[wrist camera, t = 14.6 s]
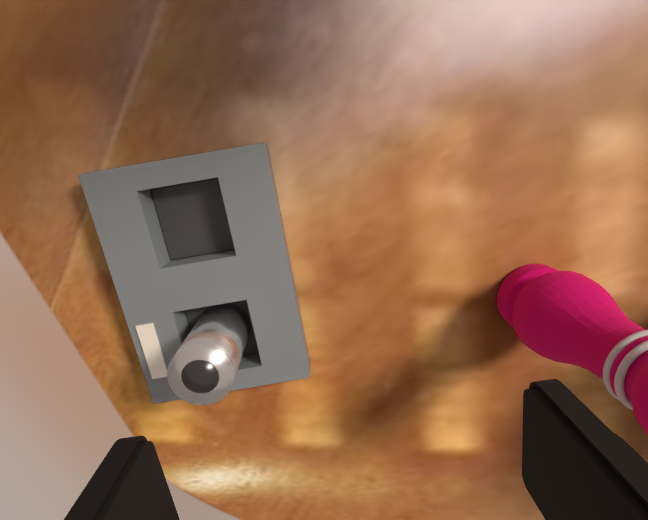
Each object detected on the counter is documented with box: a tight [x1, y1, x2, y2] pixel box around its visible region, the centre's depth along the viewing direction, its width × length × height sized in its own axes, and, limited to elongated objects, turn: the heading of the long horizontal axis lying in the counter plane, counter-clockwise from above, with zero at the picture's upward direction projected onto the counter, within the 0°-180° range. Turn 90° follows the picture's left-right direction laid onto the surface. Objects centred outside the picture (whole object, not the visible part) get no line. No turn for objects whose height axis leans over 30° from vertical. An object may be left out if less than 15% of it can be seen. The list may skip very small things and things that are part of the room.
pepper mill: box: [497, 264, 648, 435], centre depth 25 cm, size 7×7×20 cm
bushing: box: [167, 304, 250, 405], centre depth 30 cm, size 5×5×8 cm
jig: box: [78, 143, 310, 404], centre depth 32 cm, size 20×14×3 cm
